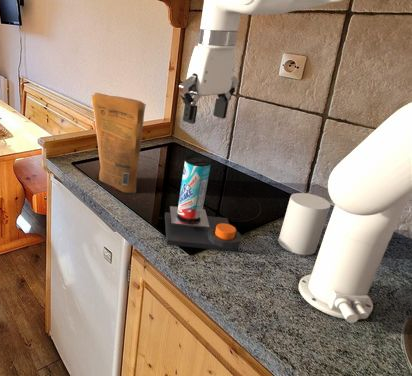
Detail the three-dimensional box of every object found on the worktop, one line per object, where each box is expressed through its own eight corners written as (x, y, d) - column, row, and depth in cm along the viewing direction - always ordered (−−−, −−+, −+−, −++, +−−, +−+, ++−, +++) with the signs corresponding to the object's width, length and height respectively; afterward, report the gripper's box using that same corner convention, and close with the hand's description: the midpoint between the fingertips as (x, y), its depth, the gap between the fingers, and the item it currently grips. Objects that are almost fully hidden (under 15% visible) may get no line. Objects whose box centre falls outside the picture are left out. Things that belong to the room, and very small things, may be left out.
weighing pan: (209, 228, 98) (209, 226, 97) (171, 224, 99) (171, 222, 99) (204, 210, 106) (205, 209, 105) (169, 207, 107) (169, 206, 107)
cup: (307, 237, 100) (320, 194, 95) (321, 256, 93) (337, 210, 88) (273, 235, 101) (285, 191, 96) (285, 253, 94) (298, 207, 89)
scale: (241, 255, 93) (244, 244, 91) (166, 247, 95) (168, 236, 94) (230, 223, 106) (232, 212, 105) (164, 216, 108) (165, 206, 107)
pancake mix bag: (129, 199, 117) (137, 103, 106) (86, 177, 131) (89, 90, 119) (144, 193, 121) (154, 100, 110) (101, 172, 135) (106, 88, 123)
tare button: (236, 241, 93) (237, 233, 92) (216, 239, 94) (217, 231, 93) (232, 231, 97) (234, 224, 96) (213, 229, 98) (215, 222, 97)
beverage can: (175, 209, 105) (183, 155, 99) (198, 211, 104) (208, 156, 98) (178, 220, 100) (187, 164, 93) (203, 222, 99) (213, 165, 93)
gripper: (231, 37, 91) (218, 111, 98) (173, 38, 83) (164, 120, 90) (259, 40, 85) (243, 119, 93) (201, 42, 77) (188, 129, 84)
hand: (204, 119), depth 91 cm, fingers open, 9 cm apart
